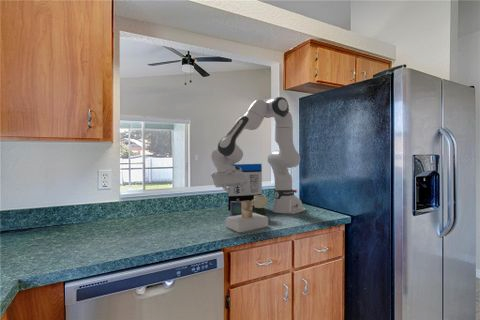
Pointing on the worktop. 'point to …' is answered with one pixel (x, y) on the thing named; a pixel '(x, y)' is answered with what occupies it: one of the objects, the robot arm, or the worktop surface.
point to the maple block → (246, 209)
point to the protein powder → (247, 184)
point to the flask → (235, 208)
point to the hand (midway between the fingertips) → (236, 191)
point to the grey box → (246, 222)
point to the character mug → (260, 204)
